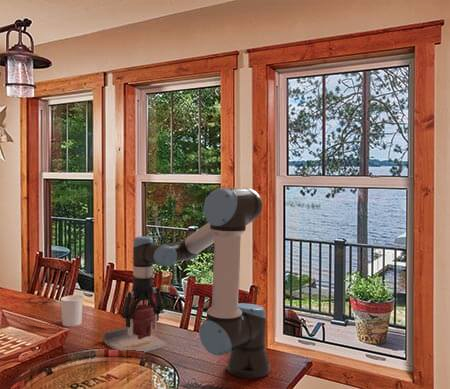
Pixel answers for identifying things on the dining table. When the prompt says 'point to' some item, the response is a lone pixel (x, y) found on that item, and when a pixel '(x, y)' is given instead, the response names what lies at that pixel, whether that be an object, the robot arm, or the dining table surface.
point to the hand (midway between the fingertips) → (142, 332)
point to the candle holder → (71, 310)
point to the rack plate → (131, 341)
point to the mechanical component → (143, 320)
